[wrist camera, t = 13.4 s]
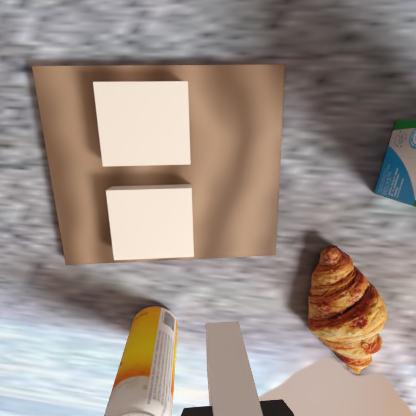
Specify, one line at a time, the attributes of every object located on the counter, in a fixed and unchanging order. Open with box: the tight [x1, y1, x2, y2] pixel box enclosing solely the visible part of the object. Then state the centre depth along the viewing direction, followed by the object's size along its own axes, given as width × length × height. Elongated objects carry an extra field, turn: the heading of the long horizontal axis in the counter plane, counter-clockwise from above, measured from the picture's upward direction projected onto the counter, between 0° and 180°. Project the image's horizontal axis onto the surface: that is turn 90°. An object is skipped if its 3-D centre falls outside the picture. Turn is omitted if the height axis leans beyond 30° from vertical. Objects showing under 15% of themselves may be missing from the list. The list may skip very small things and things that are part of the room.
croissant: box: [308, 246, 388, 374], centre depth 37 cm, size 21×10×8 cm, turn 20°
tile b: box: [106, 184, 194, 260], centre depth 31 cm, size 3×8×9 cm
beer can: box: [104, 306, 178, 416], centre depth 31 cm, size 6×6×15 cm
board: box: [32, 64, 285, 265], centre depth 32 cm, size 26×22×2 cm
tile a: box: [93, 81, 191, 167], centre depth 29 cm, size 3×8×9 cm
